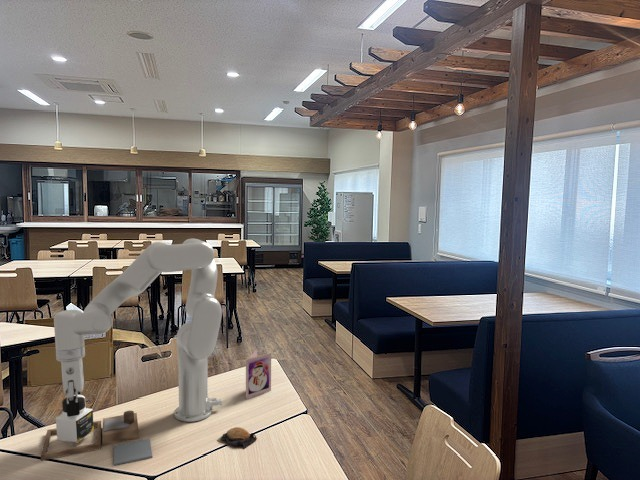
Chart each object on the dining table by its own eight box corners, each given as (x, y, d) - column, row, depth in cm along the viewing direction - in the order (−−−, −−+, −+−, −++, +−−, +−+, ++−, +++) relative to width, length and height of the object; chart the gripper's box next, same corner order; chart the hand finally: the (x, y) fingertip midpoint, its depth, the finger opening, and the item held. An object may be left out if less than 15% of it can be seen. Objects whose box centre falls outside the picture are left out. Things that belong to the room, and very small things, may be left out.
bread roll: (215, 443, 138) (214, 431, 137) (232, 430, 145) (232, 419, 145) (243, 452, 133) (242, 441, 132) (259, 439, 140) (259, 428, 140)
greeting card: (247, 400, 165) (247, 360, 164) (236, 393, 171) (236, 354, 169) (272, 391, 173) (272, 353, 172) (261, 385, 179) (261, 348, 177)
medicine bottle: (77, 443, 132) (75, 404, 131) (56, 440, 133) (54, 401, 132) (94, 430, 139) (92, 393, 138) (74, 428, 140) (71, 391, 139)
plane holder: (136, 418, 150) (136, 401, 150) (139, 441, 137) (138, 422, 136) (47, 434, 140) (46, 415, 139) (40, 460, 126) (40, 440, 125)
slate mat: (149, 439, 138) (149, 438, 138) (152, 457, 129) (152, 455, 128) (113, 447, 133) (113, 445, 133) (114, 465, 124) (113, 463, 124)
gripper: (83, 360, 127) (87, 420, 129) (86, 341, 143) (89, 396, 145) (52, 364, 124) (56, 426, 126) (59, 345, 139) (62, 400, 141)
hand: (74, 409), depth 135 cm, fingers closed on medicine bottle, 6 cm apart
